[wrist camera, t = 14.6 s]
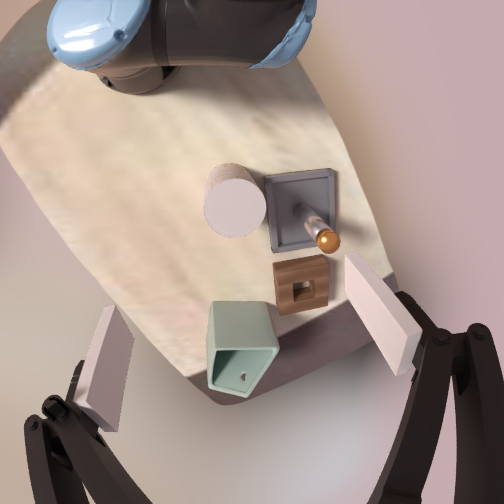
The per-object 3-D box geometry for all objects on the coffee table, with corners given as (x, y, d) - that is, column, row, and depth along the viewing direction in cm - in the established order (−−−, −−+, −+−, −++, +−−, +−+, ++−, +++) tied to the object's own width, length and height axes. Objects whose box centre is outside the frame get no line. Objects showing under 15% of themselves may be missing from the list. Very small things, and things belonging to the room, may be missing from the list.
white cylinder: (259, 169, 48) (274, 187, 37) (245, 214, 51) (256, 243, 40) (211, 158, 46) (212, 171, 35) (199, 203, 49) (197, 231, 38)
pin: (293, 219, 52) (320, 255, 40) (292, 203, 50) (320, 235, 38) (309, 216, 52) (340, 251, 40) (308, 201, 51) (340, 232, 38)
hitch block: (272, 262, 56) (277, 273, 53) (321, 254, 57) (329, 263, 53) (276, 303, 61) (280, 315, 57) (321, 294, 61) (327, 305, 58)
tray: (263, 175, 48) (265, 178, 47) (329, 168, 49) (333, 170, 47) (271, 249, 55) (273, 253, 53) (331, 238, 55) (334, 242, 54)
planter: (244, 279, 57) (260, 352, 39) (267, 303, 60) (289, 375, 43) (183, 321, 60) (179, 397, 42) (207, 341, 63) (211, 414, 46)
